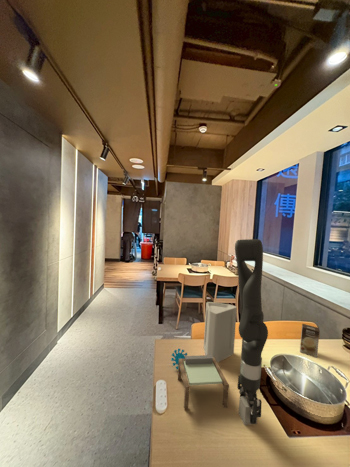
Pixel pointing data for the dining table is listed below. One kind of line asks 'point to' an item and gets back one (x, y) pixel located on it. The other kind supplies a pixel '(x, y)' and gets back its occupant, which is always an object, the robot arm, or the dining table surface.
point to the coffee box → (309, 340)
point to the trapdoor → (201, 370)
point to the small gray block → (245, 410)
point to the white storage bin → (219, 330)
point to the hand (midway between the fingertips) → (247, 412)
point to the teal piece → (178, 357)
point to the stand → (186, 398)
